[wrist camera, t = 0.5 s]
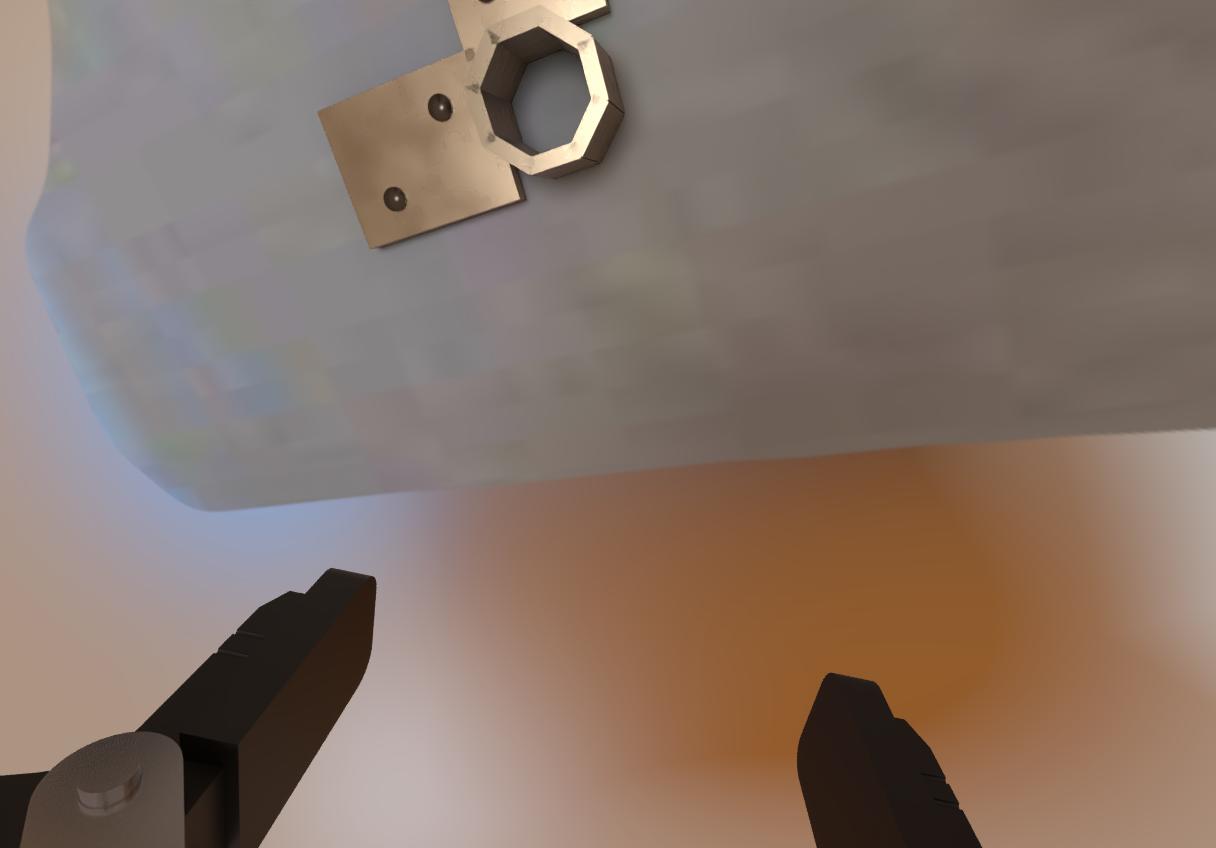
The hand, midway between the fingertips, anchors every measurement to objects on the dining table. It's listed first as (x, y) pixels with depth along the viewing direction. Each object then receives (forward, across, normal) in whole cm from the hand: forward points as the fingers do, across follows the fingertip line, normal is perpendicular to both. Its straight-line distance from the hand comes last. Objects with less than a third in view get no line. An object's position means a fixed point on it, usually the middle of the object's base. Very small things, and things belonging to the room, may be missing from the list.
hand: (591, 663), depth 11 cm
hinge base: (+25, +12, -13) cm, 30 cm away
